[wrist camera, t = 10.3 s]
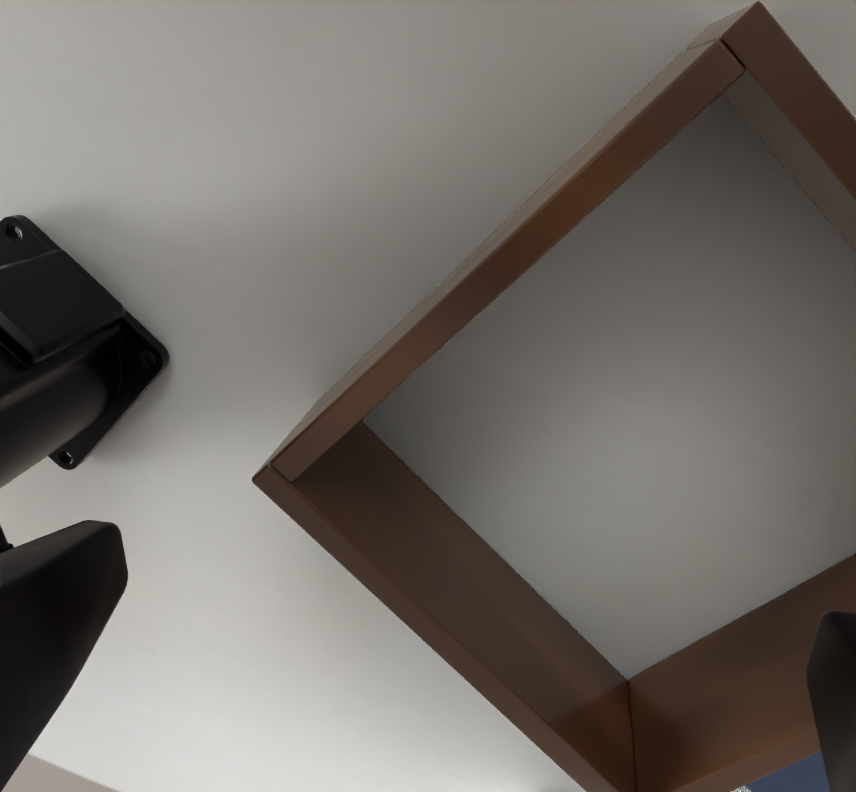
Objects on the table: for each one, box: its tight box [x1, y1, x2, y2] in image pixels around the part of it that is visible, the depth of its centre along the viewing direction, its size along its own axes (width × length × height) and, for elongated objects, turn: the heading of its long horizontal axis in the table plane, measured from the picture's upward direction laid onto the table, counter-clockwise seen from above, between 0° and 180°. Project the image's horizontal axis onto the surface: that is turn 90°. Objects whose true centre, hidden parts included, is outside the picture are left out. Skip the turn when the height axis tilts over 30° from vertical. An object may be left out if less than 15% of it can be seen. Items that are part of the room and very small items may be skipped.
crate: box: [252, 1, 856, 792], centre depth 19 cm, size 15×15×5 cm
